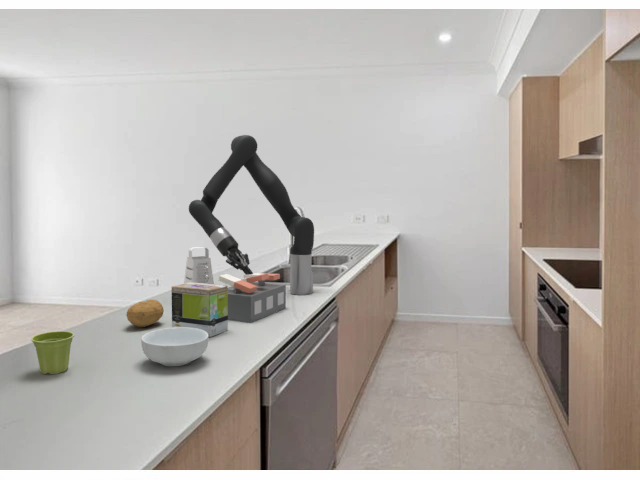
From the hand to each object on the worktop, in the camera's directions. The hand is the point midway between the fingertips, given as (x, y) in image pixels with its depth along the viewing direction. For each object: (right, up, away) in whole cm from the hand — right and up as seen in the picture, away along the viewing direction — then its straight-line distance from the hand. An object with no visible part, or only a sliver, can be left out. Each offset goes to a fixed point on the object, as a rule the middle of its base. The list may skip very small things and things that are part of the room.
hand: (250, 275), depth 203 cm
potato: (-31, -15, -29) cm, 45 cm away
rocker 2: (+1, -1, -9) cm, 9 cm away
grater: (-25, -10, +24) cm, 36 cm away
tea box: (-12, -16, -34) cm, 39 cm away
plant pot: (-39, -19, -72) cm, 84 cm away
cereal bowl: (-11, -19, -64) cm, 68 cm away
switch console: (+2, -13, -6) cm, 14 cm away
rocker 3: (+5, 0, -2) cm, 5 cm away
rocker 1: (-2, -2, -17) cm, 17 cm away
